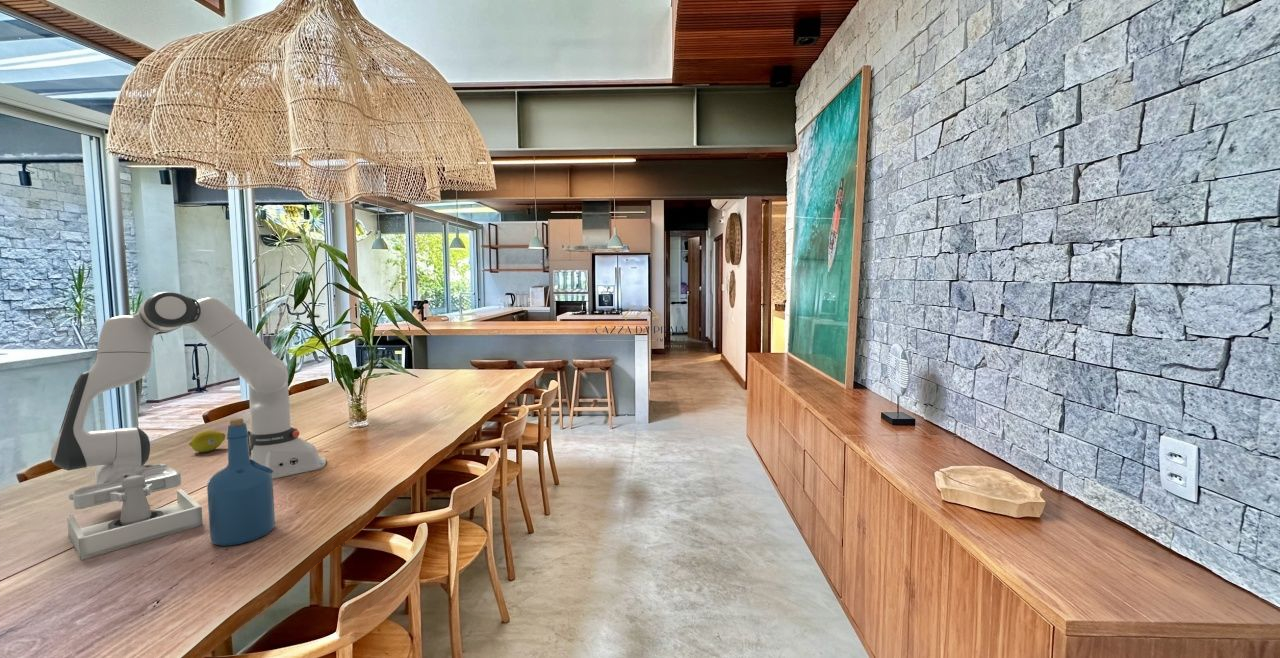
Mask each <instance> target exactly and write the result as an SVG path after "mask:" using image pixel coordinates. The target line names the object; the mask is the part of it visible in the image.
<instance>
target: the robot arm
mask: <svg viewBox="0 0 1280 658" xmlns="http://www.w3.org/2000/svg"><path fill="white" fill-rule="evenodd" d="M183 326H184V327H185V326H187V327H190V328H192V329H194V330H195V331H197V332H198V333H199V334H200V335H201V336H202V337H203V338H204V339H205V340H206V341H207V342H208V344H210V345H211V346H212V347H213V348H214V349H215V350H216V351H217V352H218V353H219V354H220V355H221V356H222V357H223V358H224V359H225V360H226V361H227V362H228V364H229V365H230V366H231V367H232V368H233V369H234V371H235V372H236V373H238V375H239V376H240V377H241V378H242V379H243V380H244V381H245V383H247V384H248V396H249V397H248V398H249V419H250V420H249V421H250V432H251V433H250V436H249V442H250V449H251V454H250V459H252V460H254V461H255V462H257V463H259V464H260V465H263V466H266V467H268V468H270V469H272V470H273V473H272V478H273V480H274V479H279V478H283V477H288V476H292V475H293V476H294V475H297V474H302V473H307V472H312V471H316V470H320V469H322V468H325V466H326V465H327V460H326V458H325V457H324V456H322V455H319V453H318V449H317V446H315V445H314V444H313V443H311V442H308V441H307V440H305V439H302V438H300V437H299V436H300V431H299V430H298V428H297V427H293V426H292V425H291V407H290V395H289V394H290V393H289V371H288V368H287V366H286V363H285V362H284V361H283V360H281V359H280V358H278V357H277V356H275V354H274V353H273V352H272V350H270V349H269V347H267V346H266V344H265V343H264V342H263V341H262V339H260V337H259V336H258V335H257V334H256V333H255V332H254V331H253V330H252V329H251V328H250V326H248V325H247V324H246V323H245V322H244V320H242V319H241V317H240V316H238V314H237V313H235V312H234V310H232V309H231V308H230V307H228V306H227V305H226V304H225V303H223V302H222V301H221V300H219V299H217V298H215V297H204V298H199V299H197V300H196V299H195V298H191V297H189V296H187V295H183V294H182V293H178V292H174V291H161V292H157V293H155V294H153V295H151V296H149V297H148V298H146V299H145V300H144V301H143V302H142V303H141V305H140V307H138V309H137V311H135V312H134V314H132V315H130V314H128V315H126V314H125V315H124V314H123V315H117V316H116V315H115V316H113V317H110V318H108V319H107V320H105V321H104V322H103V325H102V327H101V330H100V334H99V338H98V342H97V353H96V359H95V361H94V363H93V365H92V366H91V368H90V369H89V370H87V371H84V372H82V373H80V375H79V376H78V378H77V379H76V382H75V384H74V386H73V390H72V392H71V395H70V397H69V401H68V404H67V407H66V410H65V414H64V417H63V420H62V423H61V427H60V430H59V432H58V435H57V437H56V439H55V441H54V443H53V445H52V447H51V450H50V459H51V462H52V464H53V465H54V466H56V467H58V468H60V469H62V470H66V471H75V470H80V469H86V468H89V467H96V469H95V473H94V480H95V484H94V485H89V486H88V485H87V486H84V487H80V488H78V489H76V490H75V491H74V492H73V493H70V494H69V495H68V499H69V500H70V501H73V507H74V510H83V509H87V508H92V507H95V506H101V505H104V504H105V505H106V504H108V503H113V502H119V503H123V501H126V497H127V494H125V488H123V487H122V480H123V479H125V478H127V477H130V476H135V475H142V476H144V477H145V483H144V484H143V485H142V487H143V490H144V494H145V496H146V497H147V496H150V495H151V493H155V492H159V491H164V490H167V489H172V488H173V489H174V488H177V487H179V486H181V484H182V477H181V473H180V472H179V471H178V469H176V468H172V467H167V463H157V464H155V463H154V464H146V463H147V461H149V457H150V454H151V453H150V452H151V443H150V439H149V435H148V434H147V433H146V432H145V431H144V430H142V429H141V428H139V427H137V426H133V427H121V428H120V427H119V428H112V429H99V430H97V429H96V430H86V429H84V426H85V424H86V420H87V416H88V414H89V413H88V412H89V409H90V406H91V403H92V402H93V399H95V398H96V397H97V396H98V395H100V394H102V393H104V392H107V391H110V390H114V389H117V388H120V387H123V386H126V385H129V384H133V383H135V382H137V381H140V380H141V379H142V378H144V377H145V376H146V375H147V374H148V373H149V371H150V369H151V368H150V367H151V364H152V363H151V362H152V343H153V339H154V337H155V336H156V335H157V336H158V335H162V334H167V333H171V332H173V331H176V330H178V329H179V328H181V327H183ZM145 464H146V465H145Z"/></svg>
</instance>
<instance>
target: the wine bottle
mask: <svg viewBox="0 0 1280 658" xmlns="http://www.w3.org/2000/svg"><path fill="white" fill-rule="evenodd" d="M226 429H227V431H226V440H227V460H228V462H227V465H226V466H225V467H224V468H222V469H220V470H218V471H216V472H215V473H214V474H212V475H211V477H210V478H209V479H208V481H207V484H206V494H207V508H208V509H207V510H208V512H207V513H208V523H209V524H208V525H209V537H210V541H211V543H212V545H217V546H222V547H227V546H234V545H235V546H236V545H242V544H246V543H248V542H253V541H256V540H258V539H260V538H262V537H265V536H267V535H268V534H269V533H270V532H271V531H272V530H273V529H274V528H275V525H276V517H275V516H276V515H275V499H274V482H273V481H274V479H273V478H272V473H273V470H272V469H270V468H268V467H266V466H263V465H260V464H259V463H257V462H255V461H254V460H252V459H251V454H249V445H248V436H249V435H248V431H249V430H248V427H247V423H245V422H244V418H239V417H238V418H232V419H230V420H229V425H227V428H226Z"/></svg>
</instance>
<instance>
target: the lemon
mask: <svg viewBox="0 0 1280 658" xmlns="http://www.w3.org/2000/svg"><path fill="white" fill-rule="evenodd" d="M225 440H226V433H224V432H220V431H217V430H213V429H212V430H211V429H210V430H203V431H200V432H198V433H196V434H195V435H193V437H192V438H191V440H190V441H189V443H188V445H189V446H190V447H191V448H192V449H193V451H195V452H198V453H207V452H212V451H214V450H216V449H218V448H219V447H220V445H221V444H222V443H223V442H224V441H225Z"/></svg>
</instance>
